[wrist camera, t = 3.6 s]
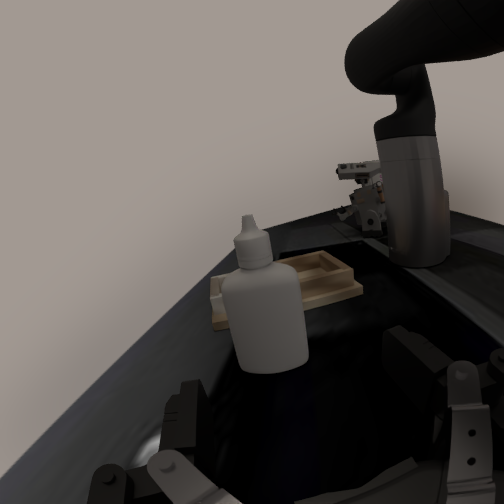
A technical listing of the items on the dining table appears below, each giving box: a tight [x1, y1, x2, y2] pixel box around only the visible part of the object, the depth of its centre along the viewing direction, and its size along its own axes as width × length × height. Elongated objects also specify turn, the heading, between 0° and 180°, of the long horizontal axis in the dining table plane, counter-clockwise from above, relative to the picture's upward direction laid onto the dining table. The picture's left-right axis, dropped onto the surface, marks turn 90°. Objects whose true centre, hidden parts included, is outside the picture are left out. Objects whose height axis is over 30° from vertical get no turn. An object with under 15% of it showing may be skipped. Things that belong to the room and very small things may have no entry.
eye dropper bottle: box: [221, 215, 309, 374], centre depth 20 cm, size 4×6×12 cm
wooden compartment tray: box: [210, 251, 363, 331], centre depth 35 cm, size 17×13×3 cm
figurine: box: [332, 162, 387, 238], centre depth 54 cm, size 9×12×15 cm
